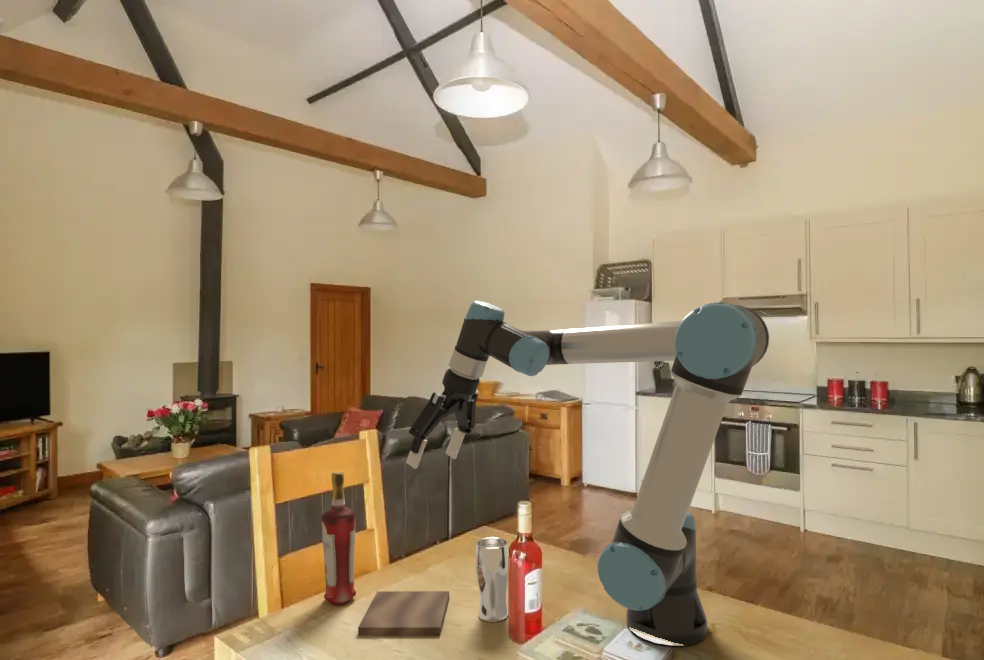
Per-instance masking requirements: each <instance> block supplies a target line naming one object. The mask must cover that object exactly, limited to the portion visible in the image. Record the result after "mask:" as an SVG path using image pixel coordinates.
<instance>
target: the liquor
mask: <svg viewBox="0 0 984 660" xmlns="http://www.w3.org/2000/svg"><path fill="white" fill-rule="evenodd" d="M344 483H345V471H334V472H332V473H331V485H332V496H331V508H329V509H327V510H325V512H324V513H322V515H321V536H322V548H323V557H324V558H323V559H324V560H323V561H324V577H325V579H324V580H325V581H324V582H325V593H324V594H323V599H324V600H326V601H327V602H328V603H329V604H331V605H332V606H343V605H346V604H348V603H350V602H351V601H352V599H354V597H355V596H356V594H357V591H356V589H355V547H356V546H355V545H356V519H357V518H356V517H357V516H356V512H355V511H354V510H353V509H351V508H349V507H346V500H345V492H344Z"/></svg>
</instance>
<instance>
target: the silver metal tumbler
mask: <svg viewBox="0 0 984 660" xmlns="http://www.w3.org/2000/svg"><path fill="white" fill-rule="evenodd" d="M475 543H476V544H475V573H476V579H477V584H478V591H479V596H480V600H479V610H478V617H479V619H480V620H482V621H484V622H486V621H487V622H488V623H498V622H497V621H500V622H502V621H501V620H503V621H505V620H506V619H507V618H508V617H507V609H508V606H507V588H508V582H509V581H508V580H509V576H508V556H509V557H510V553H509V542H508V540H507V539H505V538H504V537H503V538H502V537H497V536H496V537H495V536H490V537H489V536H488V537H484V538H480V539H478V540H477V541H476V542H475ZM505 618H506V619H505ZM504 619H505V620H504Z"/></svg>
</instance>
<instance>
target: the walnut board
mask: <svg viewBox="0 0 984 660" xmlns="http://www.w3.org/2000/svg"><path fill="white" fill-rule="evenodd" d="M449 601H450V590H445V591H443V590H440V591H439V590H437V591H435V590H434V591H433V590H432V591H425V590H424V591H423V590H422V591H418V590H417V591H416V590H415V591H412V590H411V591H409V590H408V591H406V590H405V591H399V590H398V591H397V590H396V591H388V590H387V591H376V593H375V595H374V597H373V599H372V600H371V602H370V605H369V606H368V608H367V610H366V612H365V614H364V616H363V618H362V620H361V621H360V623H359V625H358V627H357V633H358V634H357V635H358V636H441V635H442V634H441V633H442V629H443V626H444V621H445V618H446V613H447V609H448V604H449V603H450V602H449Z"/></svg>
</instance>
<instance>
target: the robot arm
mask: <svg viewBox="0 0 984 660" xmlns="http://www.w3.org/2000/svg"><path fill="white" fill-rule="evenodd" d="M504 319H505V310H503V308H501V307H498V306H497V305H494V304H491V303H488V302H486V301H482V300H474V301H473V302H472V303H471V304H470V305H469V308H468V310H467V313H466V314H465V317H464V318H463V323H462V325H461V329H460V333H459V335H458V338H457V341H456V344H455V345H454V349H453V352H452V354H451V357H450V359H449V363H448V367H447V368H446V370H445V373H444V375H443V378H442V382H441V383H442V385H443V387H444V388H443V389H444V390H443V392H442V393H440V394H439V393H438V392H435V391H434V392H432V393H431V396H430V398H429V401H428V403H427V404H426V405H425V407H424V408H423V410H422V411H421V413H420V414H419V415H418V417H417V418H416V420H415V421H414V423H413V424H412V425H411V427H410V429H409V430H408V434H409V435H411V436H413V439H412V442H411V445H410V447H409V449H410V450H409V453H408V456H407V458H406V462H405V463H406V464H407V465H409V466H410V467H411V468H412V469H414V470H415V469H418V467H419V465H420V462H421V460H422V456H423V453H424V451H425V448H426V445H427V442H428V440H427V437H428V436H429V435H430V434H431V433H432V432H433V431H434V429H435V428H436V427H437V426H438V425H439V424H440V423H441V421H442V420H443V419H444V418H448V417H449V415H451V414H454V415H455V420H456V424H457V425H456V426H457V427H455V428H454V429H453V431H452V435H451V437H450V440H449V442H448V444H447V448H446V450H445V455H447V456H448V457H450V458H451V459H453V460H456V459H457V457H458V455H459V451H460V449H461V446H462V444H463V441H464V438H465V435H466V434H468V435H470V434H471V433H472V430H473V429H474V428H475V425H476V424H475V423H476V422H475V421H476V406H477V400H478V397H479V393H477V390H478V388H479V384H480V382H481V380H480V378H482V377H483V374H484V372H485V368H486V366H487V363H488V360H489V358H490V357H492V358H493V359H494V360H497V361H498V362H500V363H502V364H504V365H506V366H508V367H510V368H511V369H513V370H514V371H516V372H517V373H521V374H523V375H526V376H527V377H535V376H537V375H538V374H539V373H540V372H542V371H543V369H544V368H545V367H546V366H552V365H553V366H554V365H555V366H558V365H573V364H574V365H575V364H577V365H579V364H607V363H614V364H615V363H640V362H641V363H642V362H643V363H644V362H646V363H647V362H649V363H650V362H671V361H672V362H673V364H672V366H671V369H670V373H671V376H672V378H673V380H674V382H675V386H674V390H673V392H672V396H671V398H670V400H669V405H668V407H667V410H666V413H665V416H664V418H663V421H662V425H661V427H660V430H659V432H658V436H657V437H656V438H657V439H656V442H655V444H654V446H653V447H654V448H653V450H652V453H651V456H650V459H649V462H648V465H647V468H646V470H645V472H644V473H645V474H644V476H643V479H642V482H641V485H640V488H639V490H638V493H637V497H636V499H635V503H634V504H633V508H631V509H628V510H626V511H623V512H622V514H621V516H620V517H619V521H618V523H617V525H616V529H615V532H614V535H613V538H612V540H611V543H609V544H608V545H606V546H605V548H603V550H602V552H601V553H600V555H599V557H598V562H597V575H598V579H599V581H600V583H601V584H602V586H603V589H604V591H605V592H606V593H607V595H608V596H609V597H610V598H611V599H612V600H613V601H615V603H617V604H618V605H619V606H622V607H624V608H626V626H627V628H628V627H631V628H634V629H637V630H639V631H642V632H645V633H647V634H650V635H653V636H655V637H658V638H662V639H665V640H668V641H671V642H674V643H679V644H683V645H686V646H685V647H688V646H693V645H696V644H698V643H700V642H702V641H703V640H705V639H706V638H707V635H708V620H707V616H706V615H707V614H706V613H705V610H704V607H703V605H702V602H701V599H700V598H701V597H700V596H699V593H698V592H699V591H698V586H697V585H698V584H697V537H696V535H697V534H696V532H697V528H696V519H695V516H694V515H693V513H691V512H690V507H691V504H692V501H693V499H694V496H695V493H696V490H697V488H698V485H699V483H700V480H701V477H702V475H703V472H704V470H705V466H706V464H707V461H708V458H709V456H710V452H711V451H712V447H713V446H714V445H713V444H714V441H715V439H716V436H717V434H718V431H719V427H720V426H721V422H722V419H723V418H724V414H725V411H726V409H727V406H728V404H729V403H730V402H731V401H732V400H736V399H738V398H740V397H741V396H742V394H743V393H744V391H745V390H744V389H745V387H746V384H747V382H748V380H749V379H748V378H749V375H750V373H751V371H752V368H753V367H754V366H756V364H758V363H760V362H761V360H762V359H763V358H764V356H765V355H766V353H767V351H768V347H769V346H770V345H769V344H770V333H769V329H768V327H767V324H766V322H765V321H764V319H763V318H762V317H761V315H759V314H758V313H757V312H755V311H754V310H753V309H751V308H748V307H745V306H743V305H736V304H732V303H727V302H725V303H724V302H710V303H707V304H704V305H702V306H699V307H696V308H694V309H693V310H692V311H689V312H688V313H687V314H686V315H685V317H683V319H682V320H678V321H663V322H649V323H647V322H646V323H636V324H621V325H619V324H618V325H607V326H593V327H592V326H591V327H580V328H579V327H578V328H568V329H565V328H562V329H548V330H521V329H519V328H517V327H514V326H513V325H510V324H509V323H507V322H505V321H504Z"/></svg>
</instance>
